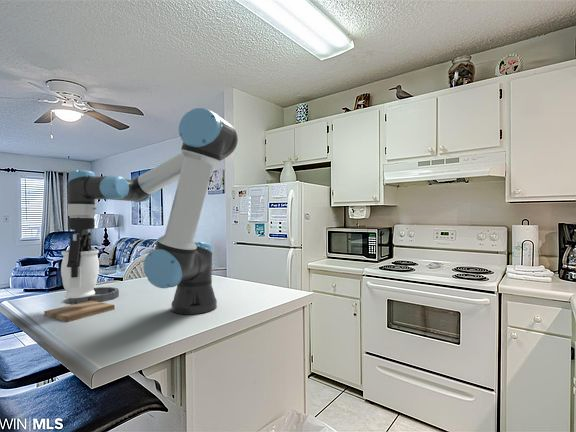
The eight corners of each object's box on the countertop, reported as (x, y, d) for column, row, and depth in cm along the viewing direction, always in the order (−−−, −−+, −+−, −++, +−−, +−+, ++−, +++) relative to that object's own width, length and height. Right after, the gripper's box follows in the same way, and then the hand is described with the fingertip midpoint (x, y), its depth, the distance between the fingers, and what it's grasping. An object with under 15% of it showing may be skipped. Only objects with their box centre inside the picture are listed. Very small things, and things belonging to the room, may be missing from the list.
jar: (63, 301, 99) (64, 252, 99) (58, 295, 106) (58, 250, 106) (102, 295, 106) (102, 250, 106) (94, 290, 113) (95, 248, 114)
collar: (127, 295, 129) (127, 289, 129) (86, 305, 114) (86, 298, 114) (101, 291, 136) (101, 285, 136) (59, 300, 122) (59, 293, 122)
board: (114, 309, 110) (114, 304, 110) (67, 321, 96) (68, 316, 96) (91, 304, 116) (91, 300, 116) (44, 315, 102) (44, 311, 102)
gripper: (84, 217, 97) (83, 290, 96) (102, 217, 118) (101, 277, 118) (55, 217, 94) (54, 292, 94) (79, 217, 116) (78, 278, 116)
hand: (80, 283), depth 106 cm, fingers closed on jar, 10 cm apart
